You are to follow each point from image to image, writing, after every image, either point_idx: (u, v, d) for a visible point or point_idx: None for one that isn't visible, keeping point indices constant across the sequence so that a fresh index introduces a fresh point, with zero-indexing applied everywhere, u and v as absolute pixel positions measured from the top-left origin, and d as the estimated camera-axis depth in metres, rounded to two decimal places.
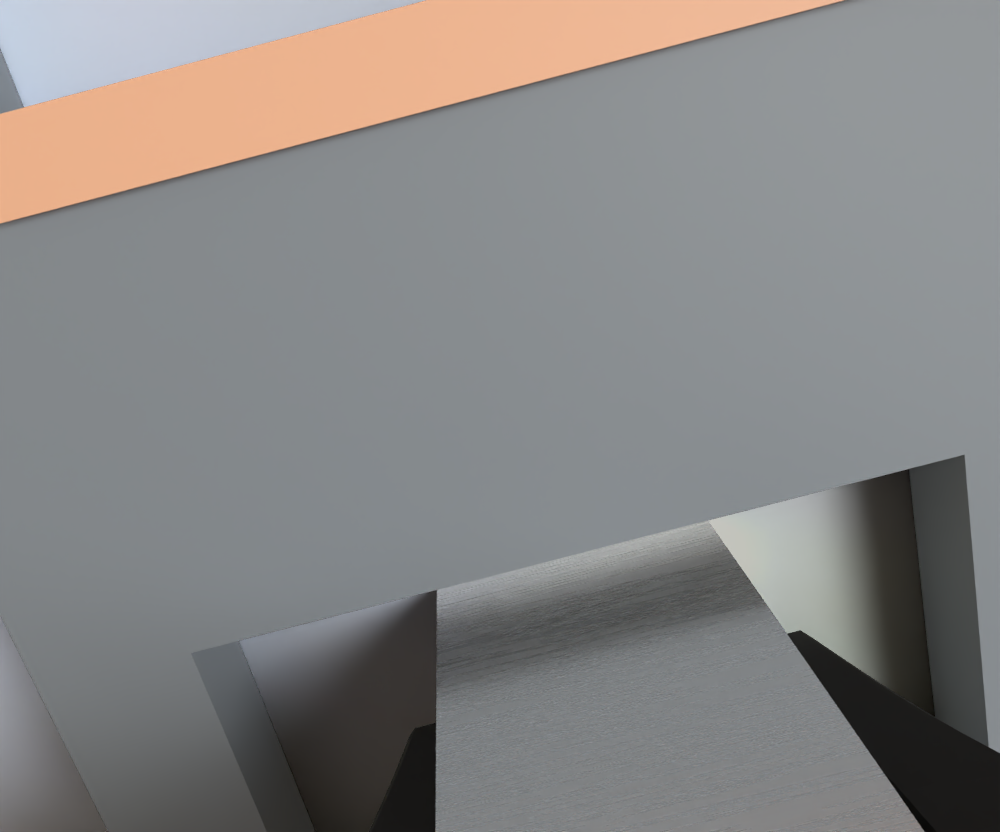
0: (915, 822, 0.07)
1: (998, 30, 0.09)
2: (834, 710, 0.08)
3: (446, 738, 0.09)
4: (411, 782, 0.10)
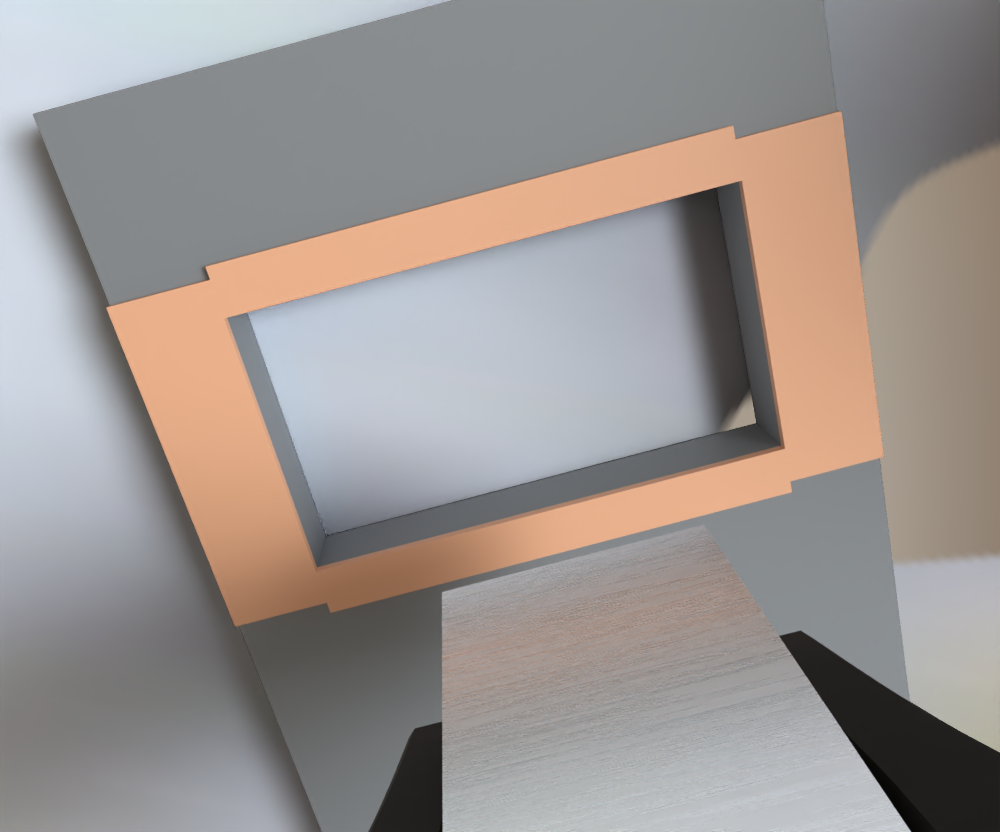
0: (903, 824, 0.07)
1: (826, 508, 0.19)
2: (827, 715, 0.09)
3: (453, 742, 0.10)
4: (410, 782, 0.10)
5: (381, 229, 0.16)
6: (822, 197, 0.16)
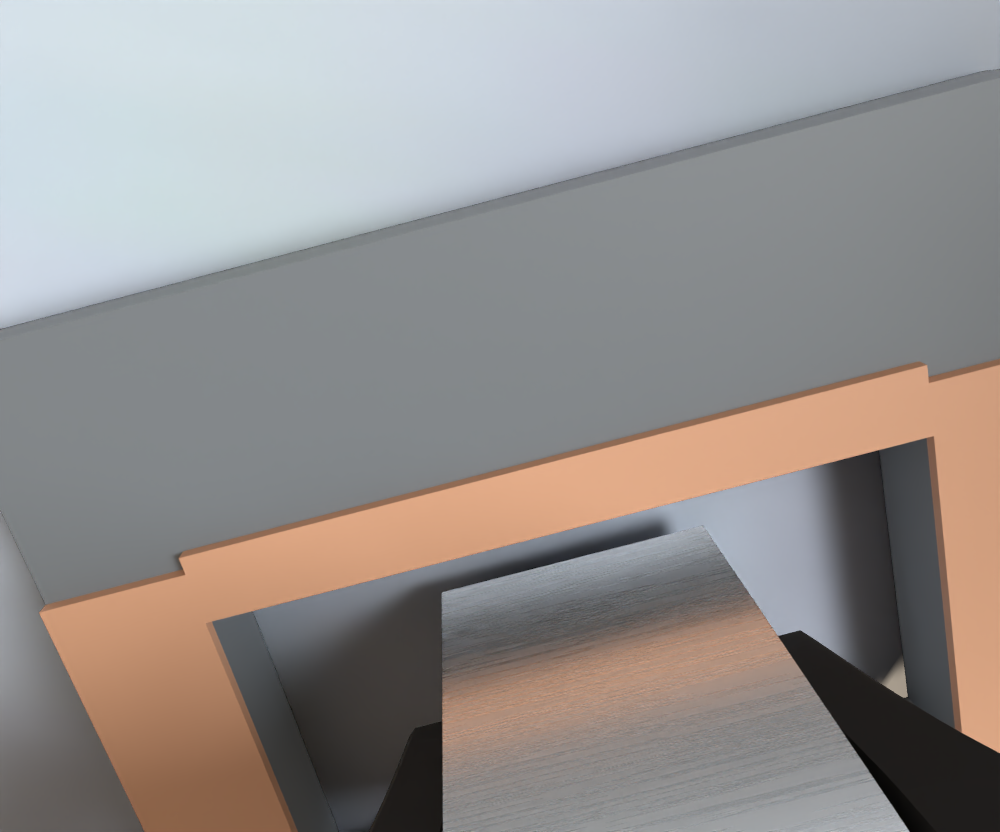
0: (902, 825, 0.07)
1: None
2: (826, 716, 0.09)
3: (452, 743, 0.10)
4: (411, 782, 0.10)
5: (427, 506, 0.11)
6: None
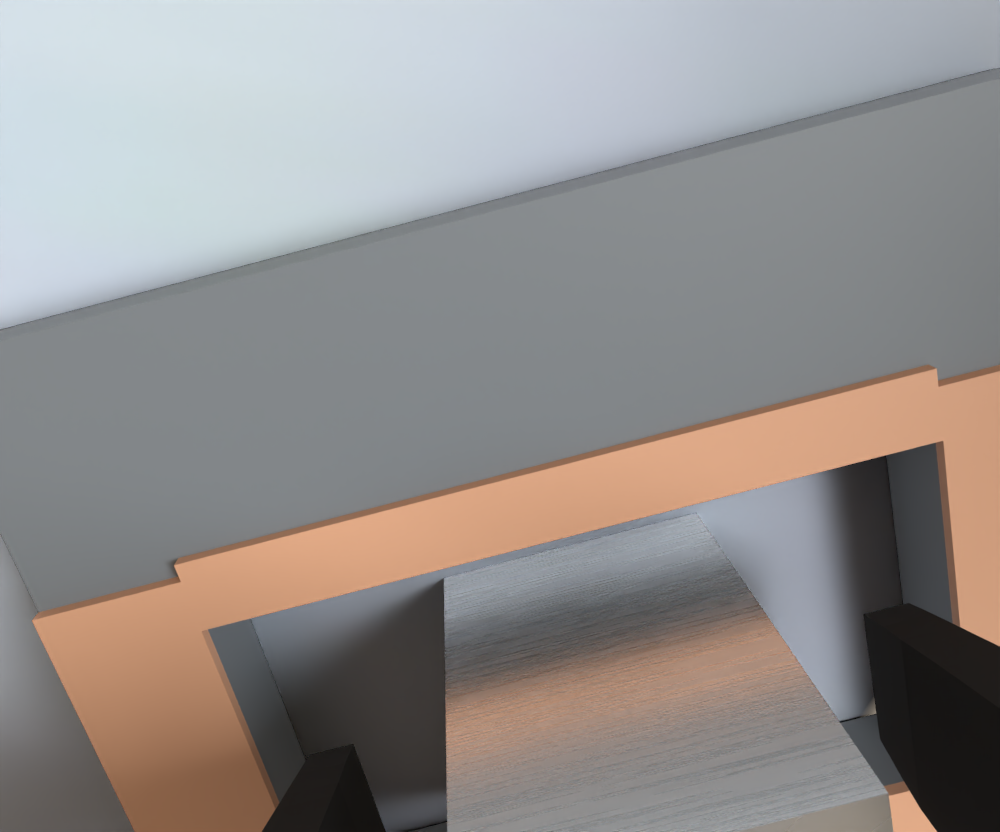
0: (879, 784, 0.08)
1: None
2: (810, 687, 0.09)
3: (456, 716, 0.10)
4: (290, 813, 0.10)
5: (427, 512, 0.11)
6: None
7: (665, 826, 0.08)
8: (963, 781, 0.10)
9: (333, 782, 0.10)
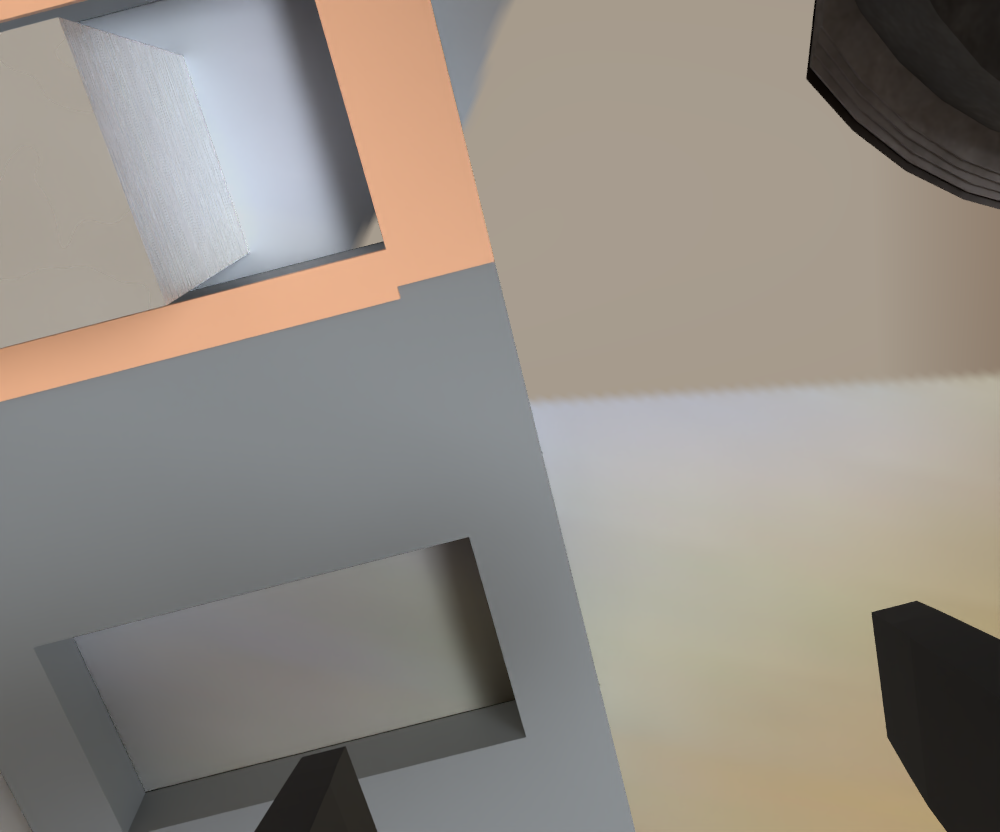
0: (64, 21, 0.12)
1: (445, 320, 0.18)
2: (96, 29, 0.13)
3: None
4: (281, 815, 0.10)
5: None
6: None
7: None
8: (973, 779, 0.10)
9: (325, 784, 0.10)
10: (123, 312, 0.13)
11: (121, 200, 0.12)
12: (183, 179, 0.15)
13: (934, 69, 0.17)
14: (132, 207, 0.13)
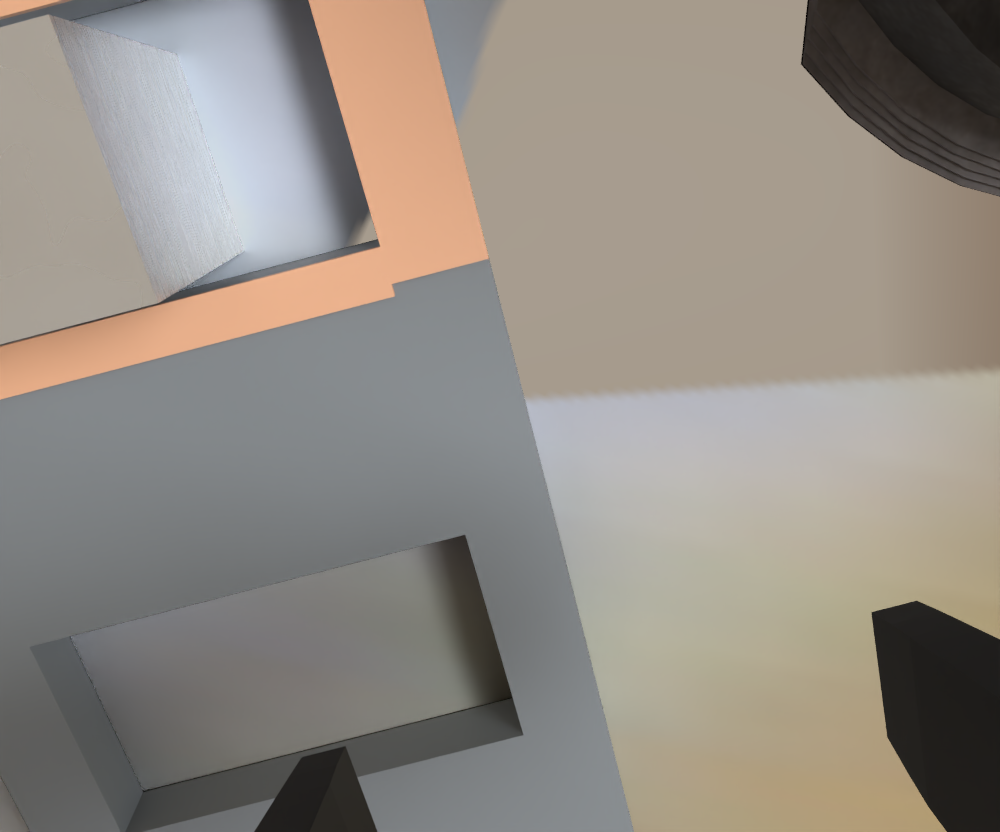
0: (55, 20, 0.12)
1: (439, 318, 0.18)
2: (87, 27, 0.13)
3: None
4: (281, 815, 0.10)
5: None
6: None
7: None
8: (973, 779, 0.10)
9: (325, 784, 0.10)
10: (115, 310, 0.13)
11: (114, 198, 0.12)
12: (176, 177, 0.15)
13: (929, 53, 0.17)
14: (124, 205, 0.13)
